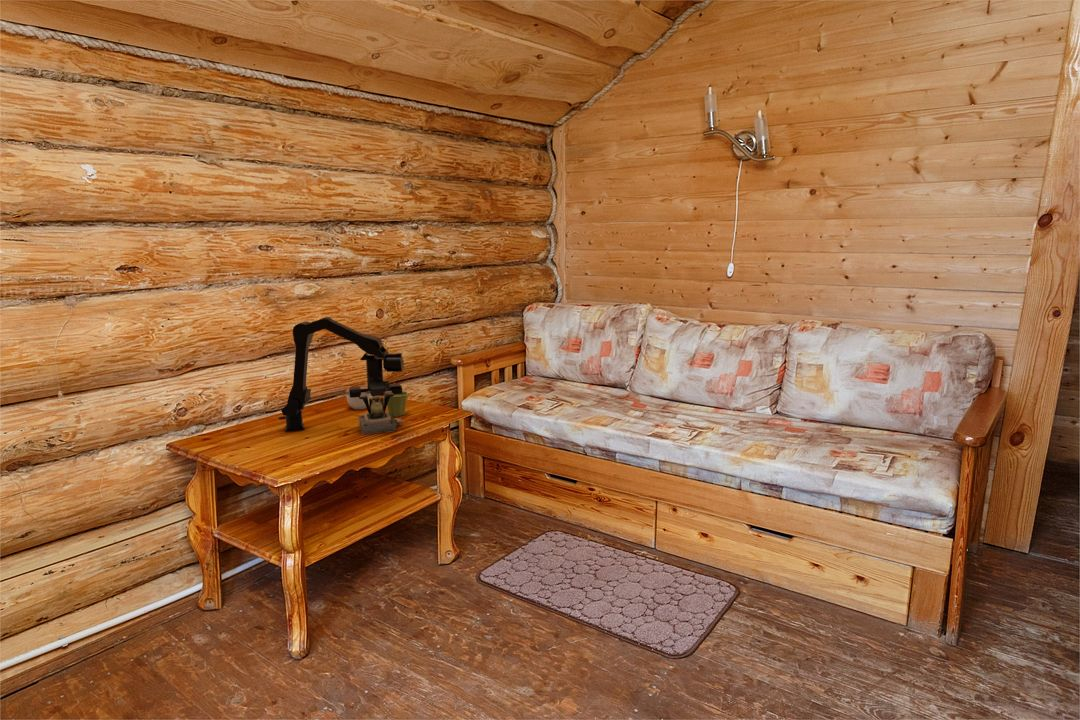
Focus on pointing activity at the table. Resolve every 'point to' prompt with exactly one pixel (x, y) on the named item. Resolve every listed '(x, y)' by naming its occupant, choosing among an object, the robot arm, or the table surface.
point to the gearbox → (378, 423)
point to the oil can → (376, 407)
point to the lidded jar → (357, 400)
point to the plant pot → (397, 404)
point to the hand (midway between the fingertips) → (376, 412)
